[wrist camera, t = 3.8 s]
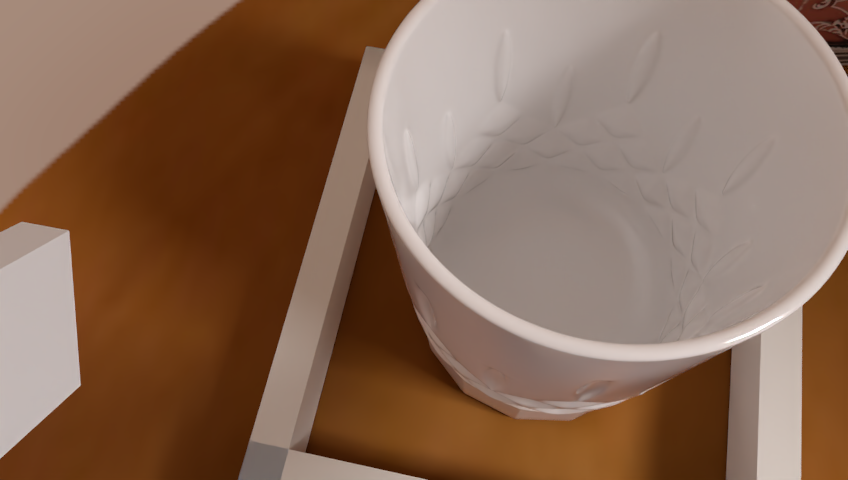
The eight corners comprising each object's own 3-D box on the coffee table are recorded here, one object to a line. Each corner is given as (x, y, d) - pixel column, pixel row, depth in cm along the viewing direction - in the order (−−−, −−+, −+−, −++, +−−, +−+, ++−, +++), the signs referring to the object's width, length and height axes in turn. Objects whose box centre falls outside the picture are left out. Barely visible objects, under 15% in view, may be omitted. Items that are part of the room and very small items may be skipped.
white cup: (715, 413, 19) (966, 299, 10) (430, 471, 19) (416, 411, 10) (628, 162, 22) (758, -102, 13) (381, 209, 22) (334, -31, 13)
